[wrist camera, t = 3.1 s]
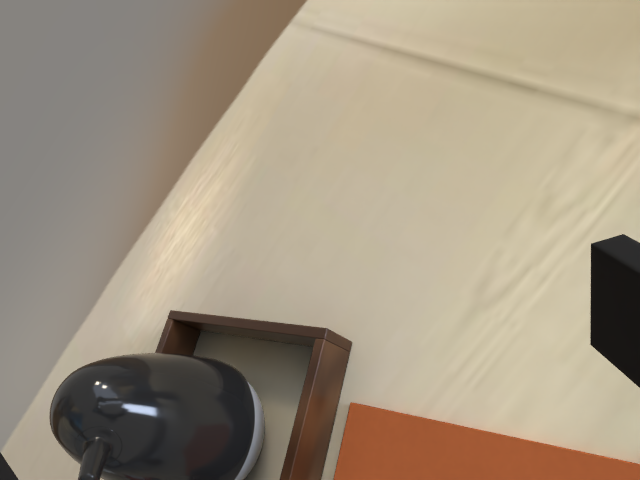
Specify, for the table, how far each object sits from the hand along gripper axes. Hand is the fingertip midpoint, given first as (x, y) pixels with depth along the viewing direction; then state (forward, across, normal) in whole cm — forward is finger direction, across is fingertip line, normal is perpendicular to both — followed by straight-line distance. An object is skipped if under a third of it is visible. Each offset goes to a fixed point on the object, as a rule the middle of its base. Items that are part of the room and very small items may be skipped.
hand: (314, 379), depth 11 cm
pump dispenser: (+23, -7, -23) cm, 33 cm away
